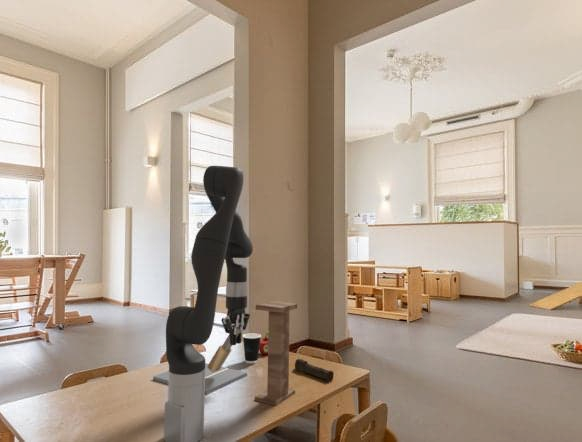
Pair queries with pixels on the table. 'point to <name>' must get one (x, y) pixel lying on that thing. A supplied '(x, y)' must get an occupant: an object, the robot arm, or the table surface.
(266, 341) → the apple
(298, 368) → the hand tool
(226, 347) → the wood and grey bar
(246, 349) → the dixie cup
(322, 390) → the table surface
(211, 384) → the flat grey board
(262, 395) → the walnut stand
